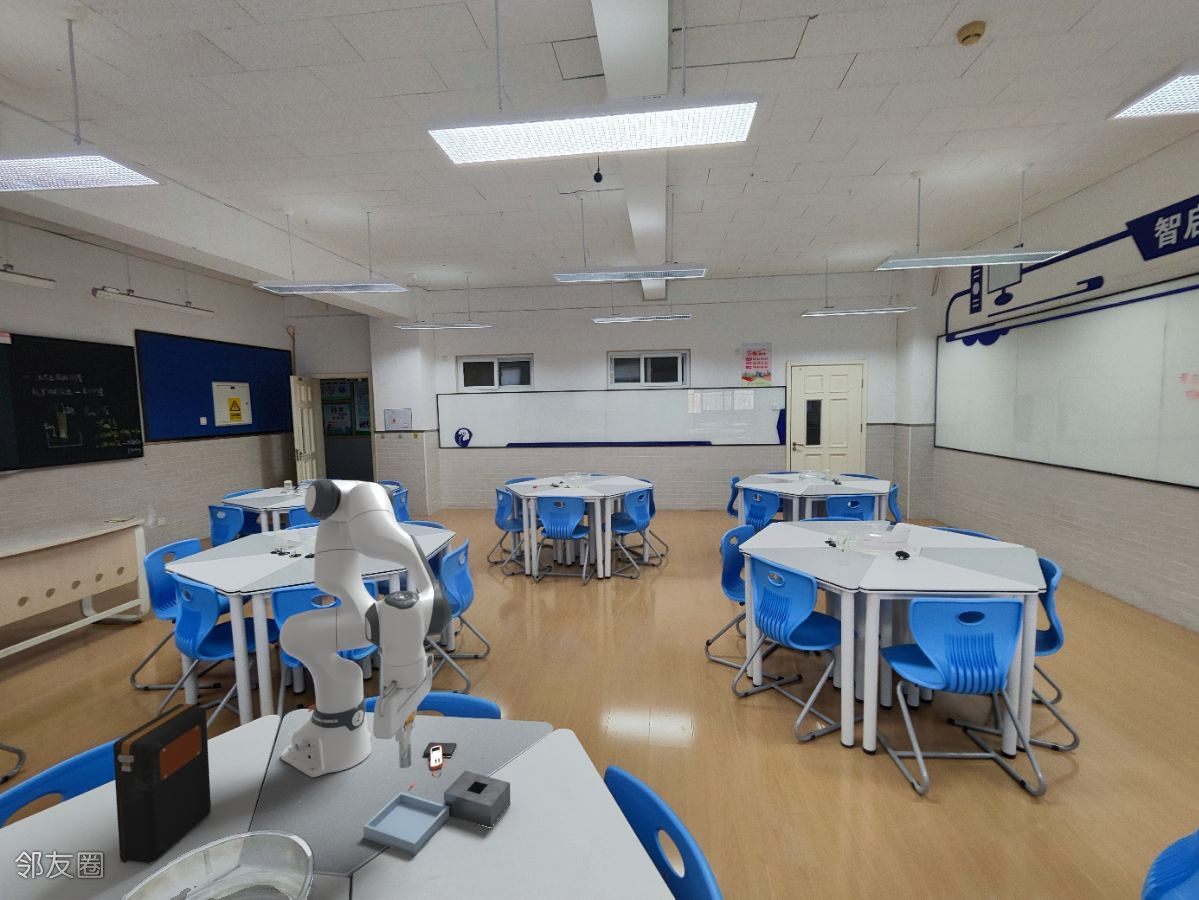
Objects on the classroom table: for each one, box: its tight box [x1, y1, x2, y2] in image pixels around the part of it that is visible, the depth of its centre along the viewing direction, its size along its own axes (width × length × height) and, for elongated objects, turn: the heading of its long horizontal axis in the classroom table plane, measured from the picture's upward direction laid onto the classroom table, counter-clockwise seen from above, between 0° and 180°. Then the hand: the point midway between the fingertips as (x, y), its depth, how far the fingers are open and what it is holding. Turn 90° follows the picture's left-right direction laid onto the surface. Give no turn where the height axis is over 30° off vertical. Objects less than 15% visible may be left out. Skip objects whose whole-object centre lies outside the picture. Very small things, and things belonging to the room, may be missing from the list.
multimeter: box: [409, 741, 458, 789], centre depth 137 cm, size 18×12×3 cm, turn 172°
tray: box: [362, 791, 450, 856], centre depth 117 cm, size 13×11×2 cm
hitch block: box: [443, 770, 511, 828], centre depth 122 cm, size 12×8×5 cm, turn 69°
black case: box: [112, 703, 212, 864], centre depth 114 cm, size 16×9×25 cm, turn 173°
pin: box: [398, 711, 415, 769], centre depth 116 cm, size 4×4×11 cm
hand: (405, 734), depth 116 cm, fingers closed on pin, 2 cm apart
